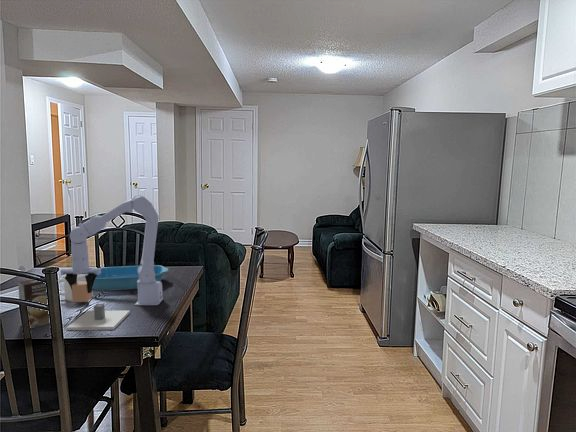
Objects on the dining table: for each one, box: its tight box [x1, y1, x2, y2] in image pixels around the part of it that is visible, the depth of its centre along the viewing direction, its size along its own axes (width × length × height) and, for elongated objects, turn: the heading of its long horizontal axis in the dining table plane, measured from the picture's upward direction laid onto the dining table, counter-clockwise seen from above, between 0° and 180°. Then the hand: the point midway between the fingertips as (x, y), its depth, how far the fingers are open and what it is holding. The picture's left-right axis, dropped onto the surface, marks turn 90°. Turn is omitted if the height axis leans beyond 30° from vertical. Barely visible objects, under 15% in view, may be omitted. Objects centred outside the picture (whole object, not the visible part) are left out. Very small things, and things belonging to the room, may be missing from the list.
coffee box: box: [17, 279, 50, 329], centre depth 146 cm, size 9×6×16 cm
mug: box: [57, 274, 86, 302], centre depth 174 cm, size 12×8×10 cm
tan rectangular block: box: [72, 281, 93, 303], centre depth 159 cm, size 5×5×7 cm
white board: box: [66, 303, 131, 331], centre depth 149 cm, size 16×16×6 cm
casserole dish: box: [85, 264, 169, 292], centre depth 195 cm, size 37×22×7 cm, turn 104°
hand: (82, 292), depth 159 cm, fingers closed on tan rectangular block, 5 cm apart
